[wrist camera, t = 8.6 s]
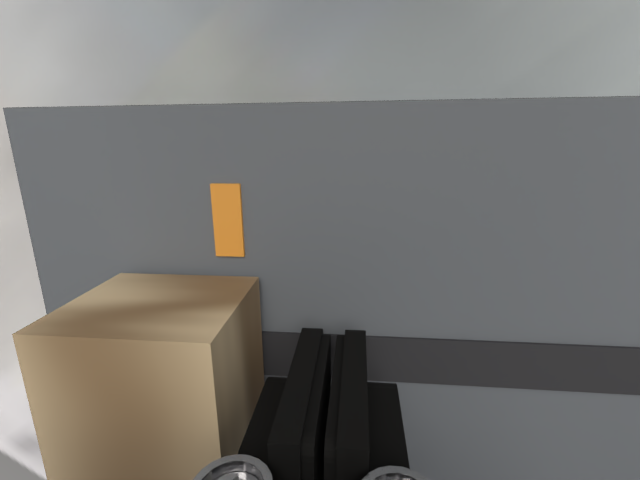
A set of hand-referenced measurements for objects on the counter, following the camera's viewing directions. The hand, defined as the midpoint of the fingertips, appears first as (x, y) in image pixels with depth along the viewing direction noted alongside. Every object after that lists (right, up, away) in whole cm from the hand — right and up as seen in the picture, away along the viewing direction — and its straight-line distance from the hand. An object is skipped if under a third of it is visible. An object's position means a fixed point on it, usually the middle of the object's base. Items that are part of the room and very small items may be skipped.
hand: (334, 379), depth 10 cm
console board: (+4, +1, +3) cm, 5 cm away
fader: (-4, 0, +1) cm, 4 cm away
